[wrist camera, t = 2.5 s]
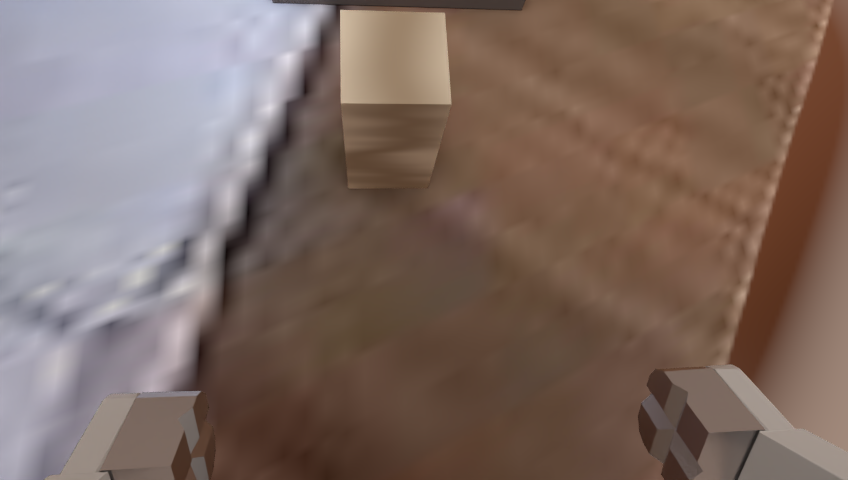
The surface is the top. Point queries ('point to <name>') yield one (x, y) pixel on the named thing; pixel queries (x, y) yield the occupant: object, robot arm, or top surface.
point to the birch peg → (393, 96)
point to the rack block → (422, 3)
